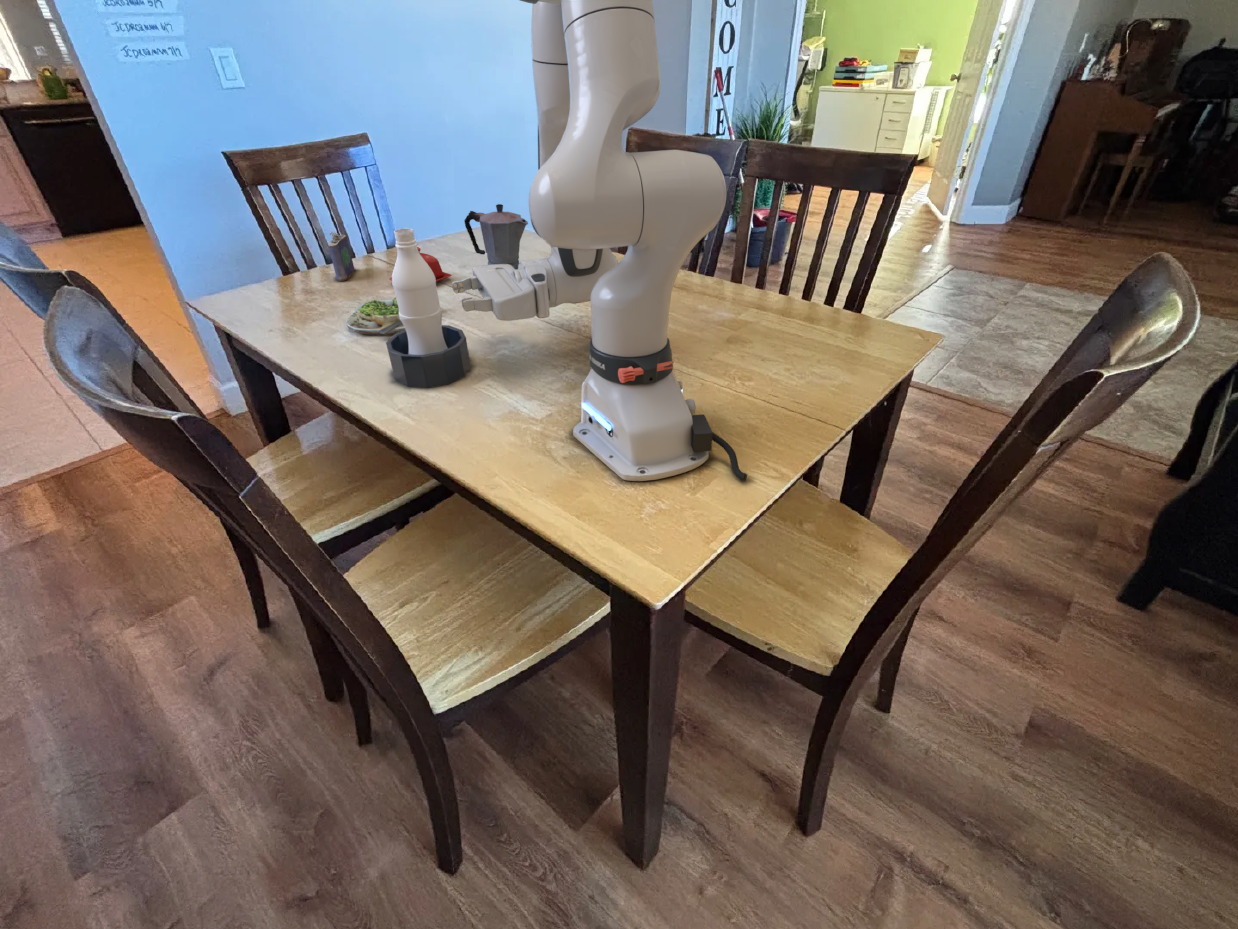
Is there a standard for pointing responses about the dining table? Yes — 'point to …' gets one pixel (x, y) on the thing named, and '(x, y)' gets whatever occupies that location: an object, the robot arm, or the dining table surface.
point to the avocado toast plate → (376, 318)
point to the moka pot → (498, 235)
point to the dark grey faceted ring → (429, 360)
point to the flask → (341, 256)
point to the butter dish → (433, 267)
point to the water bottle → (417, 297)
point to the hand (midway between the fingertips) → (457, 296)
